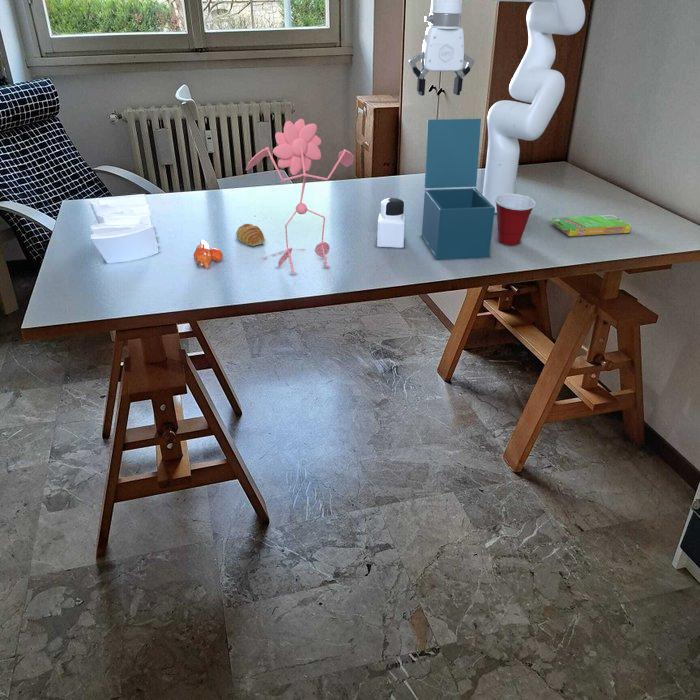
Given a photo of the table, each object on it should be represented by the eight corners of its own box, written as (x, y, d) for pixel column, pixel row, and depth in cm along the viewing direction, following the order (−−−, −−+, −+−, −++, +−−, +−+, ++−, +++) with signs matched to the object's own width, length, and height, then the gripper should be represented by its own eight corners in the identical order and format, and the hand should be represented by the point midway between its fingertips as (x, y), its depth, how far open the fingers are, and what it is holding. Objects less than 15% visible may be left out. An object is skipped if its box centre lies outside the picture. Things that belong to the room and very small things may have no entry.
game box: (628, 235, 188) (562, 236, 184) (611, 224, 197) (547, 225, 193) (631, 225, 187) (564, 226, 183) (613, 214, 195) (549, 214, 191)
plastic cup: (506, 252, 175) (512, 208, 169) (481, 238, 183) (486, 196, 177) (538, 245, 179) (545, 202, 173) (512, 232, 188) (518, 191, 182)
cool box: (489, 257, 172) (495, 207, 165) (436, 259, 170) (440, 209, 164) (470, 234, 186) (475, 188, 179) (421, 236, 184) (424, 189, 178)
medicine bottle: (404, 238, 183) (406, 196, 177) (403, 248, 177) (405, 204, 171) (378, 237, 183) (379, 195, 177) (376, 247, 177) (378, 203, 171)
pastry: (270, 244, 178) (269, 231, 176) (247, 249, 175) (246, 235, 173) (256, 233, 185) (255, 220, 183) (233, 238, 182) (232, 225, 180)
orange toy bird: (193, 233, 169) (196, 250, 159) (222, 239, 172) (227, 257, 162) (189, 251, 171) (192, 269, 161) (217, 257, 174) (222, 275, 164)
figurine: (358, 263, 168) (361, 120, 150) (263, 282, 157) (253, 130, 140) (331, 243, 180) (331, 108, 162) (241, 259, 169) (230, 117, 151)
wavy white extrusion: (159, 265, 165) (153, 225, 160) (90, 272, 161) (81, 231, 156) (155, 219, 194) (150, 184, 189) (96, 224, 190) (89, 188, 185)
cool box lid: (481, 118, 172) (474, 116, 177) (428, 119, 170) (423, 117, 175) (476, 186, 179) (470, 182, 184) (425, 188, 177) (420, 184, 182)
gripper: (416, 22, 159) (411, 97, 167) (483, 22, 162) (475, 96, 171) (407, 20, 165) (402, 92, 174) (472, 20, 169) (464, 92, 177)
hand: (438, 94), depth 172 cm, fingers open, 9 cm apart
